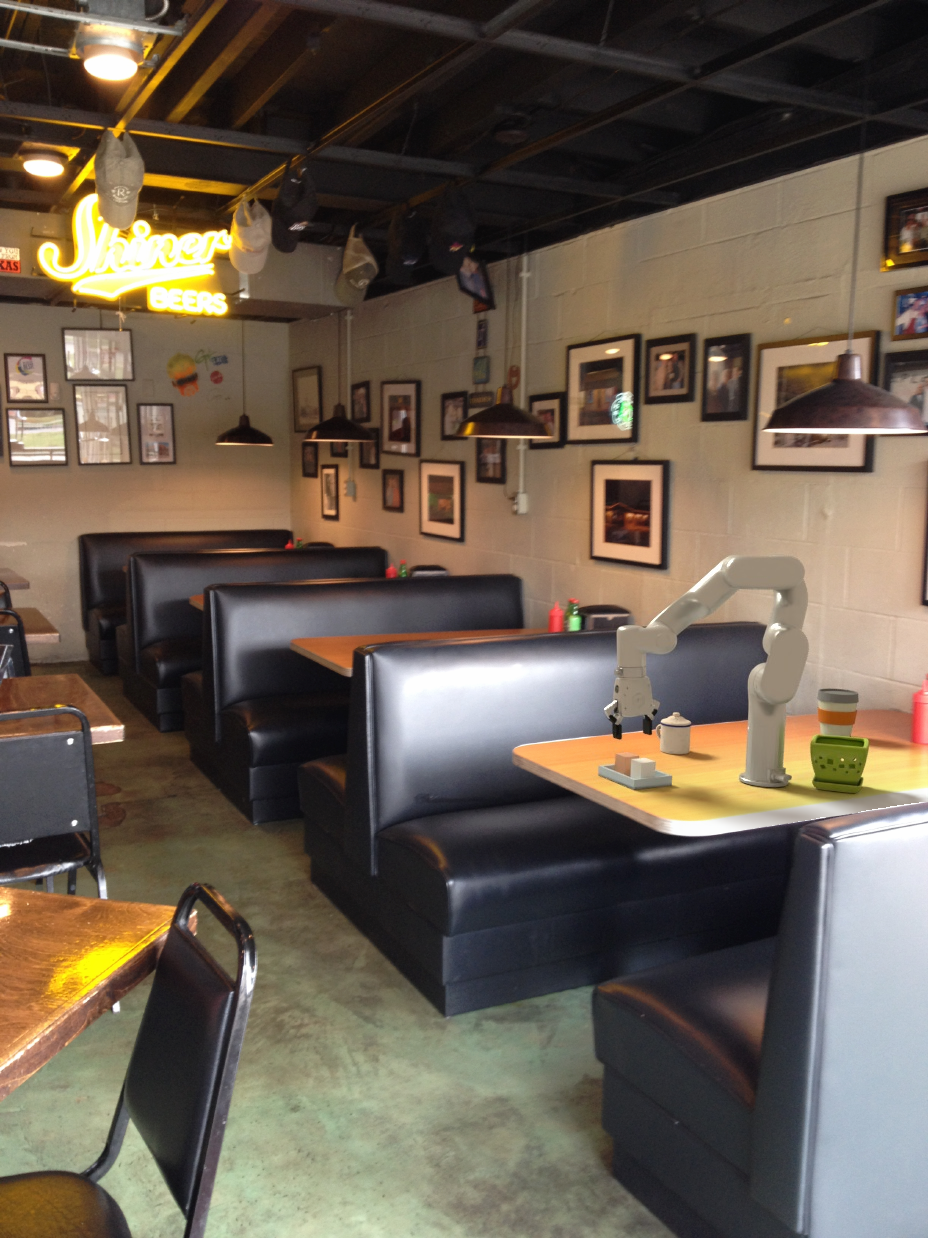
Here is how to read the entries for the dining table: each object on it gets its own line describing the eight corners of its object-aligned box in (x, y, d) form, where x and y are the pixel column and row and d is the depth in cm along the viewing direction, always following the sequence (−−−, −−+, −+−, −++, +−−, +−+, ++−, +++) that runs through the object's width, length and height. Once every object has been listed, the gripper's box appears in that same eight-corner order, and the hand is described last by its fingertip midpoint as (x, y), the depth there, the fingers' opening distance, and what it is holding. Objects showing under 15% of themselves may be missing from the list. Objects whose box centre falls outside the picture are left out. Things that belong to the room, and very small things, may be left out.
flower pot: (867, 785, 268) (870, 737, 267) (864, 798, 256) (868, 748, 254) (811, 778, 274) (813, 732, 273) (806, 791, 261) (809, 742, 260)
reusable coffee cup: (806, 734, 331) (809, 689, 330) (835, 732, 337) (838, 687, 335) (835, 743, 320) (838, 695, 319) (865, 740, 325) (867, 693, 324)
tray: (671, 785, 263) (672, 775, 263) (633, 790, 258) (634, 780, 258) (634, 771, 277) (635, 761, 277) (598, 775, 272) (598, 765, 272)
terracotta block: (638, 776, 270) (639, 755, 269) (624, 777, 268) (625, 757, 267) (628, 772, 274) (629, 752, 273) (614, 773, 272) (615, 753, 271)
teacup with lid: (696, 752, 302) (698, 714, 301) (675, 756, 296) (677, 717, 295) (666, 745, 311) (667, 707, 310) (645, 748, 306) (647, 710, 305)
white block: (654, 782, 263) (655, 761, 263) (640, 784, 261) (641, 763, 261) (644, 778, 267) (645, 757, 267) (630, 780, 265) (631, 759, 265)
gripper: (612, 677, 261) (613, 743, 262) (667, 671, 268) (667, 735, 270) (596, 673, 267) (597, 738, 269) (649, 667, 275) (650, 730, 277)
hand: (632, 736), depth 270 cm, fingers open, 9 cm apart
